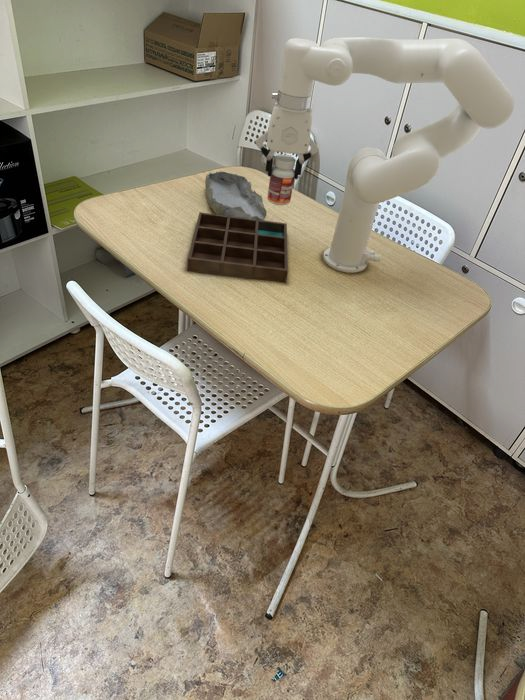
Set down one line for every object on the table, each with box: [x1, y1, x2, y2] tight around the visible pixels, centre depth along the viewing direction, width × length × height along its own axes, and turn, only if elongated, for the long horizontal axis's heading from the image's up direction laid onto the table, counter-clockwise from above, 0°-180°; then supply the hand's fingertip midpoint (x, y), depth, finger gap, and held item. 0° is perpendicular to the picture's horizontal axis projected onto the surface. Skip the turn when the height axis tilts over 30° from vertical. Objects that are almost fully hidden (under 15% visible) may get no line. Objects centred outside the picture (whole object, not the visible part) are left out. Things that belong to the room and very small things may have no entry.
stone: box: [204, 170, 267, 221], centre depth 162 cm, size 14×8×30 cm
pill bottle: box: [266, 153, 296, 206], centre depth 133 cm, size 6×6×11 cm
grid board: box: [186, 211, 289, 284], centre depth 143 cm, size 26×26×4 cm
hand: (282, 175), depth 132 cm, fingers closed on pill bottle, 6 cm apart
